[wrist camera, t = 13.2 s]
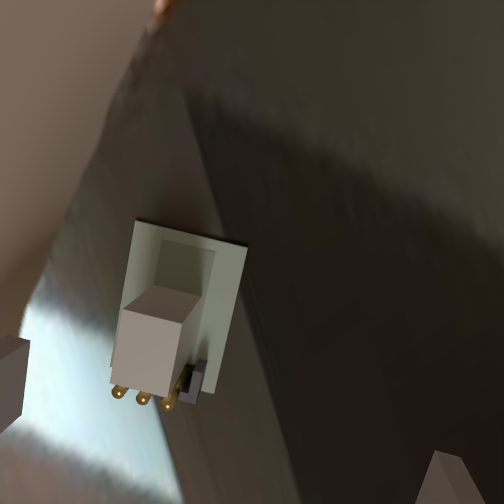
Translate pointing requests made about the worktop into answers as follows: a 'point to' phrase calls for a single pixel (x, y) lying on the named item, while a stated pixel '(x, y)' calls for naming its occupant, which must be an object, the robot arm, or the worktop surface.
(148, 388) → the plug housing
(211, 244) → the board
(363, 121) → the worktop surface
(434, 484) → the robot arm
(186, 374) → the header pins
